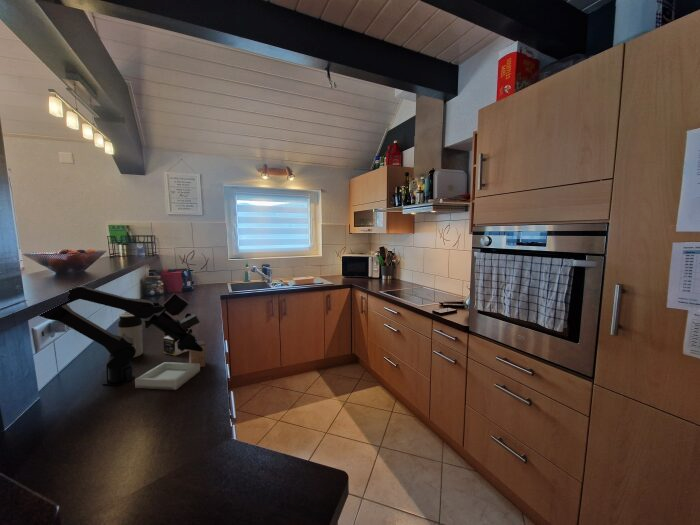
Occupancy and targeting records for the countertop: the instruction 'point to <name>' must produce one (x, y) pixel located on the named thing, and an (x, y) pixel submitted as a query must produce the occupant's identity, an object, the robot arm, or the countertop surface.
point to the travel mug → (131, 330)
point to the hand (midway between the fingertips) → (201, 348)
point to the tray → (167, 375)
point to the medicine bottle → (171, 346)
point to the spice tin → (198, 355)
